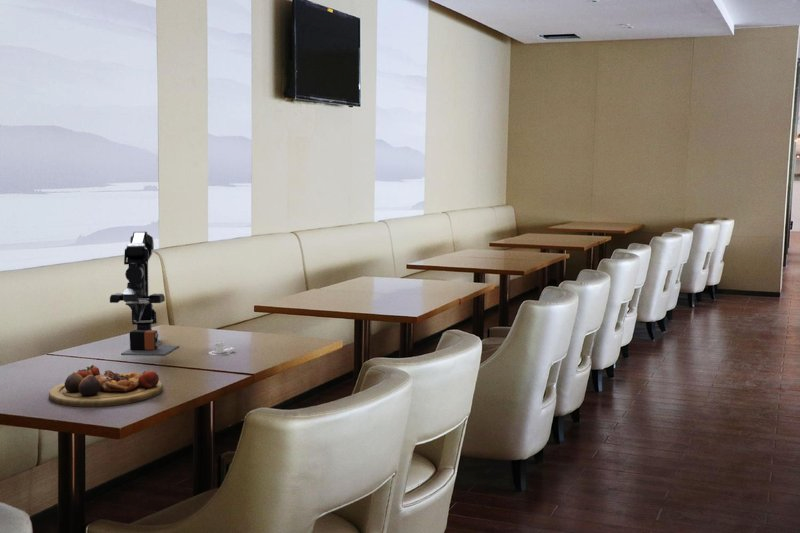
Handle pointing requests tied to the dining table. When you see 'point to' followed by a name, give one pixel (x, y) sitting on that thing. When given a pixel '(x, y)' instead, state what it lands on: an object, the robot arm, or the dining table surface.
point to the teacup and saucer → (221, 349)
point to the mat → (152, 351)
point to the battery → (144, 340)
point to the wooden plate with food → (105, 388)
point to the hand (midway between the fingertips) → (138, 321)
